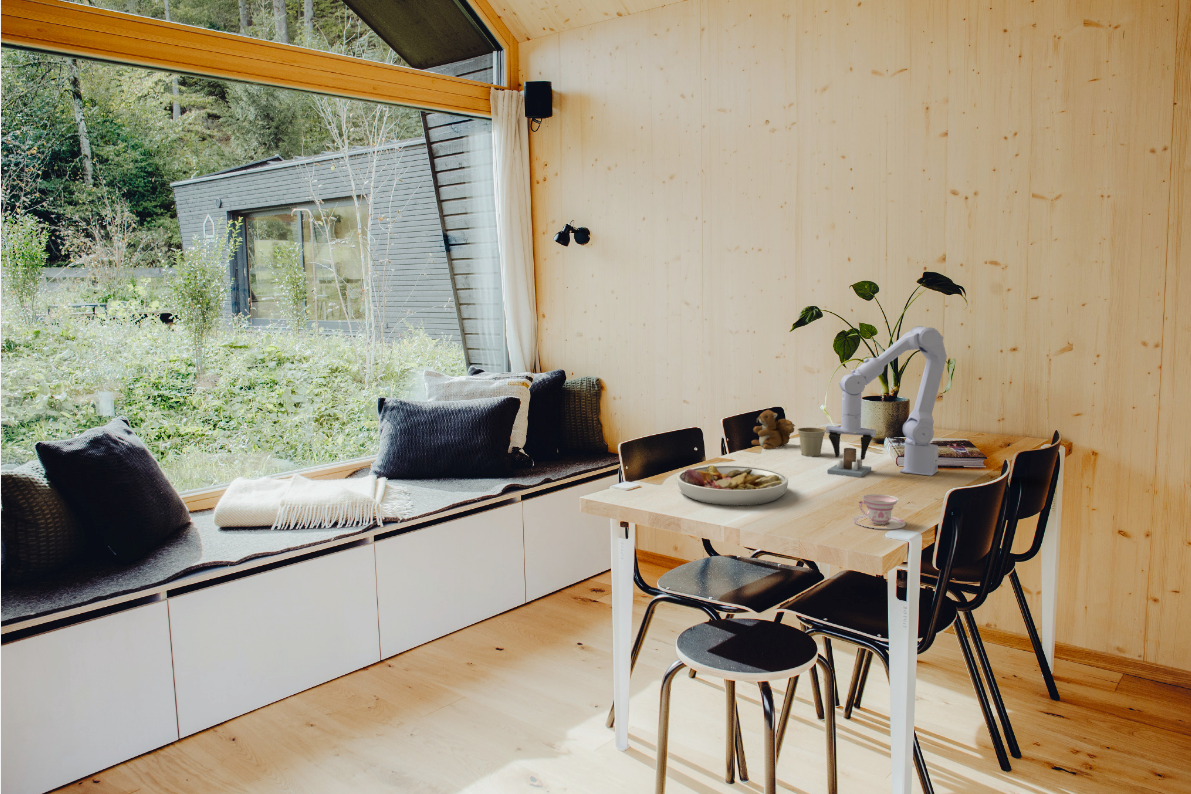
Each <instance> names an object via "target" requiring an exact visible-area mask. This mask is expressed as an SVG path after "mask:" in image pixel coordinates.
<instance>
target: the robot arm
mask: <svg viewBox="0 0 1191 794" xmlns="http://www.w3.org/2000/svg"><path fill="white" fill-rule="evenodd" d="M911 350H919V351H920V353H921V354H922V355H923V357H925V360H926V362H925V365H924V369H923V373H922V377H921V381H920V384H919V388H918V392H917V396H916V400H915V403H914V407H913V410H912V411H910V413H909V415H908V418H907V420H906V421H905V422H904V423H903V425H902V433H903V435H904V437H905V440H904V458H903V468H902V469H900V470H899V472H900V473H906V474H914V475H924V476H930V477H933V475H935V474H936V473H937V472H938V471H939V469H938V468H939V467H938V466H939V446H938V444H932V443H931V441H932V440H933V438H934V436H935V433H934V432H935V431H934V423H935V422H934V418H933V411H934V407H935V402H936V399H937V395H938V393H939V388H940V386H941V385H940V384H941V380H942V377H943V374H944V373H943V372H944V370H945V365H946V361H947V358H948V357H947V356H948V355H947V351H946V348H945V345H944V337H943V336H942V334H941V333H940V331H938V329H936V328H935V327H927V326H926V327H925V326H923V325H921V326H920V325H918V326H915V327H913V328H911V330H909V331H907V332H905V333H904V334H902V336H901V337H900V338H898V340H896V341H895V342H893V343H892V344H891V346H889V347H888V348H887V349H886V350H884V351H883V352H882V353H881V354H879V356H878V357H869V358H864V360H863V362H862V364H860V365H859V366H858V367H856V368H855V369H852V370H850V372H851V373H848V374H845V375H843V377H842V378H841V380H840V382H839V388H840V390H841V391H842V392H841V410H840V411H841V414H840V415H841V418H840V426H836V425H835V426H833V425H828V426H826V427H825V430H826V432H825V433H826V434H829V435H828V439H829V440H830V442H831V445H832V448H833V451H834V456H835V458H839V457H840V454H841V452H840V451H841V450H840V449H841V448H840V445H841V443H840V442H841V435H851V436H860V446H861V447H860V449H861V450H860V459H861V460H862V461H864V460H865V458H866V455H867V450H868V448H869V445H870V444H871V442H872V440H873V438H875V437H876V436H877V429H873V428H866V427H862V393H863V392H864V390H865V388H866V386H867V385H869V384H870V383H871V382H873V381H874V380H875V379H876V378H878V377H879V376H881V374H883V373H884V371H885V366H886V365H888V364H890V363H891V362H892V361H894V360H895V359H897V358H898V357H900V356H901V355H902V354H903V353H905V352H907V351H911Z"/></svg>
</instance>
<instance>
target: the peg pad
mask: <svg viewBox="0 0 1191 794" xmlns="http://www.w3.org/2000/svg"><path fill="white" fill-rule="evenodd" d="M836 462H837V463H836V464H835V465H834V466H832V467H830V468H828V469H827V473H828V475H835V474H836V475H837V476H843V475H846V476H845V477H852V476H853V477H854V478H860V477H861V478H862V477H864V476H865V475H867V474H869V473H870V472H872V466H869V465H867V466H866V465H863V460H861V458H856V462H852V470H848V469H844V468H843V462H844V457H842V458H841V459H839V460H837V461H836ZM853 477H852V478H853Z"/></svg>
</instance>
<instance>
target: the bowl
mask: <svg viewBox="0 0 1191 794" xmlns="http://www.w3.org/2000/svg"><path fill="white" fill-rule="evenodd" d="M676 478H677V480H676V481H677V485H678V487H679V489H680V491H681V492H682V493H683V495H686V496H687V497H688V498H691V499H692V500H694V501H697V500H698V502H701V503H705V502H706V504H711V503H712V504H713V505H718V504H721V506H733V505H743V506H756V504H757V505H763V504H767V503H771V502H773V501H776V500H778V499H779V498H781V497H782V496H784V494H785V493H786V491H787V490H788V485H789V478H788V477H787V476H786V475H785V474H783V473H781V472H778V471H775V470H772V469H768V468H767V469H766V468H761V467H755V466H745V465H713V464H711V465H707V466H702V467H701V466H700V467H694V468H689V469H687V470H683V471H681V472H679V474H678V475H677V477H676ZM712 504H711V505H712Z"/></svg>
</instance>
